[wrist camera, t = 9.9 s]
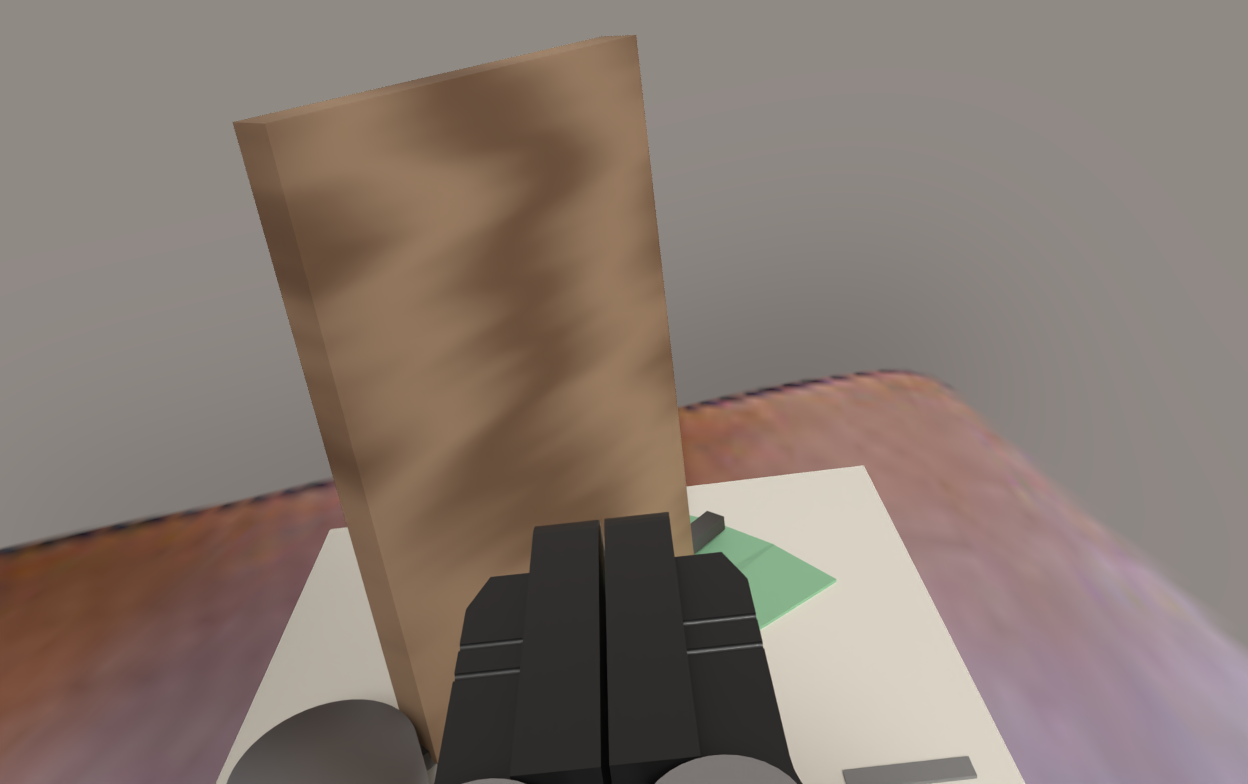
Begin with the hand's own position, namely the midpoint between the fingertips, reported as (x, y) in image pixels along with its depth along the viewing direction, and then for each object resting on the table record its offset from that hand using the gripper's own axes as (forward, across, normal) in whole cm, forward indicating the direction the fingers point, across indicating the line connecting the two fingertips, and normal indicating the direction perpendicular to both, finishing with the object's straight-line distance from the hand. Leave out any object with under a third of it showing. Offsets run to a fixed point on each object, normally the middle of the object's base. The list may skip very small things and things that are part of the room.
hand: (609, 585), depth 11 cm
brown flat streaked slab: (+13, +3, +12) cm, 18 cm away
